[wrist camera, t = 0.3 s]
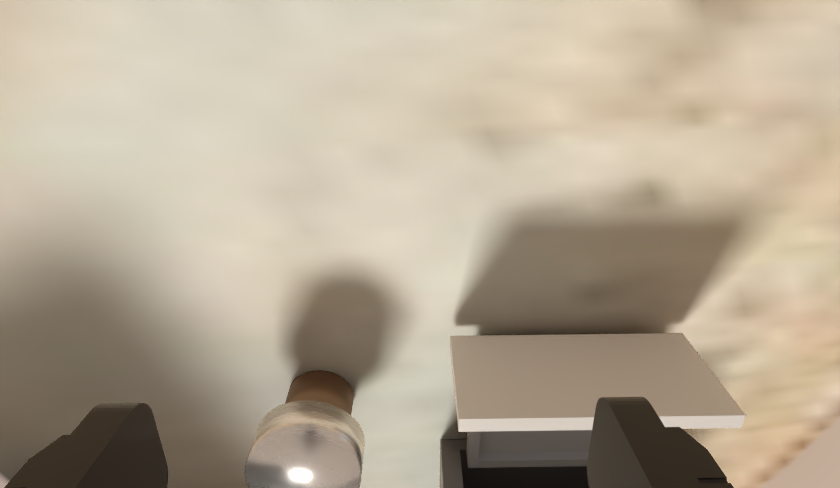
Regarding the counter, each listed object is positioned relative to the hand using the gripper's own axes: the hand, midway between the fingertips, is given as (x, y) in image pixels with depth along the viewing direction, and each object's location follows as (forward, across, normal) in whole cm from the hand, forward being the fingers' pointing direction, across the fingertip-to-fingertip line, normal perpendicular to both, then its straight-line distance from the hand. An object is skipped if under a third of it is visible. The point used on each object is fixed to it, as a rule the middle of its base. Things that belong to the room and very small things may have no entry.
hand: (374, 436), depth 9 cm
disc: (+15, +5, +14) cm, 21 cm away
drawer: (+18, -9, +14) cm, 24 cm away
